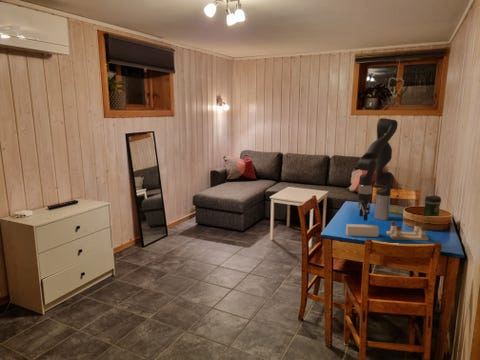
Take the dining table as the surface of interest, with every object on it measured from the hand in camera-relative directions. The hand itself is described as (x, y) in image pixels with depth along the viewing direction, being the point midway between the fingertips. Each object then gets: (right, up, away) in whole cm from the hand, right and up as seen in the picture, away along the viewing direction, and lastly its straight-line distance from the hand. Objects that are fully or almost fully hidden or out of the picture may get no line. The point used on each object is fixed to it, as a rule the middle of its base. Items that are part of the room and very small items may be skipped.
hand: (363, 218), depth 206 cm
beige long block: (0, -10, +2) cm, 11 cm away
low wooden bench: (+26, -11, -1) cm, 28 cm away
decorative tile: (+45, -2, +53) cm, 69 cm away
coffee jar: (+56, -6, +26) cm, 62 cm away
